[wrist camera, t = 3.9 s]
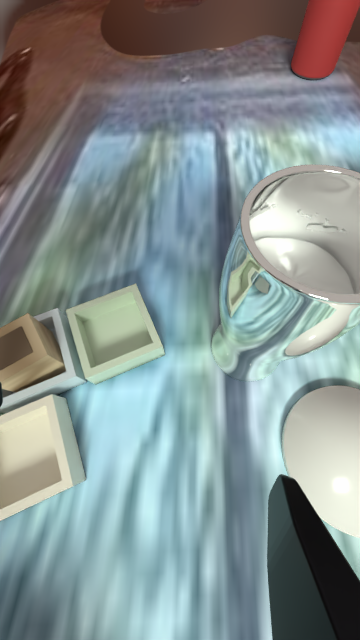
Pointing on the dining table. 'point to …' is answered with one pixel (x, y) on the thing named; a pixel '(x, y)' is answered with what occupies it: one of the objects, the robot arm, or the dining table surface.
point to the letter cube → (28, 354)
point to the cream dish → (37, 454)
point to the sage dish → (114, 334)
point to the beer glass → (290, 270)
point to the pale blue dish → (58, 383)
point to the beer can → (323, 37)
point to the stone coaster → (327, 453)
